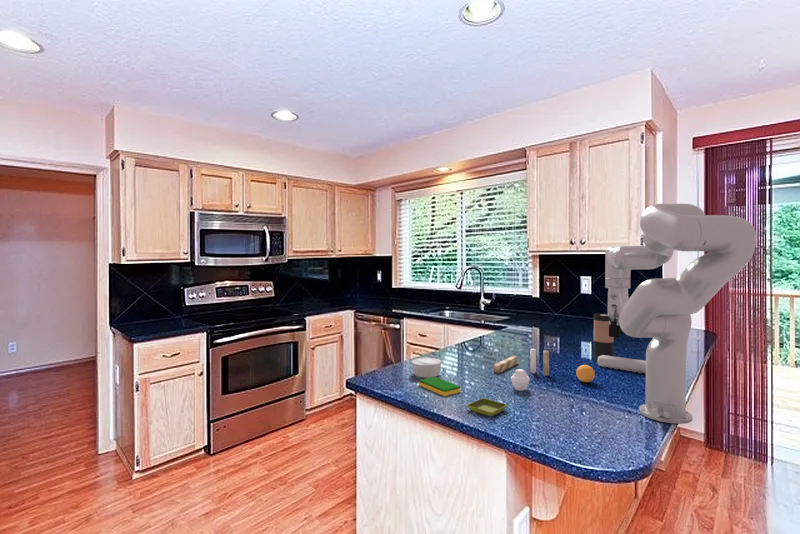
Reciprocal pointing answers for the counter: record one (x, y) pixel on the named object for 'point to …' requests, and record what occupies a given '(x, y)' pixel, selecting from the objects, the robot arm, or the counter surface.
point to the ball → (585, 373)
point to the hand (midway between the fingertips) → (617, 334)
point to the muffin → (520, 380)
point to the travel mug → (602, 336)
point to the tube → (622, 363)
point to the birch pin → (546, 363)
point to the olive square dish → (487, 407)
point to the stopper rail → (505, 364)
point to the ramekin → (426, 367)
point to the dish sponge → (439, 386)
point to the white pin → (532, 360)
